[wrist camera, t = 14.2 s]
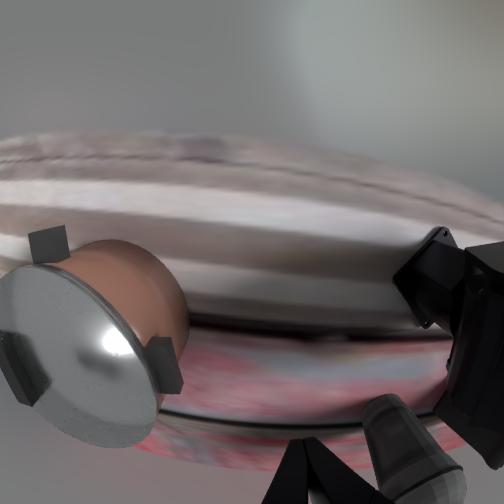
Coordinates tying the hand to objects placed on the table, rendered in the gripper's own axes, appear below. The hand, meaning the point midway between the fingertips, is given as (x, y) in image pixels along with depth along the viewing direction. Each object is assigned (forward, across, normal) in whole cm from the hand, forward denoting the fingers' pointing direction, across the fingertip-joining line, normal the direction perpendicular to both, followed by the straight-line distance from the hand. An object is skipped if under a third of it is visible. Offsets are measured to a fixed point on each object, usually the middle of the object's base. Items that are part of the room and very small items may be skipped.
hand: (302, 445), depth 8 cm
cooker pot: (+13, -12, 0) cm, 18 cm away
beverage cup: (+13, +10, -14) cm, 22 cm away
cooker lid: (+5, -13, 0) cm, 14 cm away
